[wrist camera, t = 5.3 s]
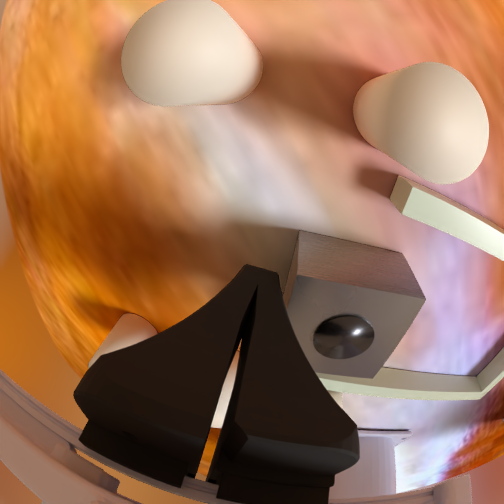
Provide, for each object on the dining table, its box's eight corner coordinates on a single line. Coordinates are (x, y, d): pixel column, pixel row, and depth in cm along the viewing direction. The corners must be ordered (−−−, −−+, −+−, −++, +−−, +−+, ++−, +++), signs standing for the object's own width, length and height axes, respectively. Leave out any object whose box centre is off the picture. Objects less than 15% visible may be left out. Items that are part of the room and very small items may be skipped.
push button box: (365, 330, 13) (373, 380, 10) (277, 314, 13) (269, 366, 10) (402, 253, 10) (426, 301, 8) (299, 230, 11) (297, 276, 8)
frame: (475, 384, 14) (479, 399, 13) (304, 364, 14) (303, 385, 13) (561, 271, 8) (572, 285, 7) (398, 174, 9) (412, 186, 7)
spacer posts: (330, 396, 16) (328, 449, 12) (122, 336, 16) (94, 380, 13) (481, 127, 7) (548, 149, 3) (127, 33, 7) (57, 19, 4)
